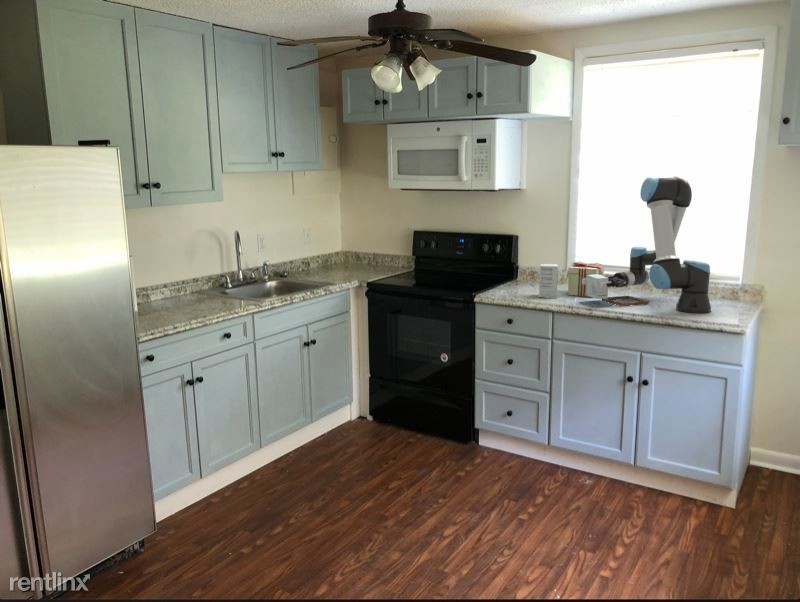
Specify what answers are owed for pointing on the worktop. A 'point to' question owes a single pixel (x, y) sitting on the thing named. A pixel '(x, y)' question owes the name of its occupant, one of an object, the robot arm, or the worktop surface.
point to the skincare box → (596, 286)
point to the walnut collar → (610, 299)
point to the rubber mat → (596, 303)
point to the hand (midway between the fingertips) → (591, 283)
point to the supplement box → (548, 280)
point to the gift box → (581, 277)
